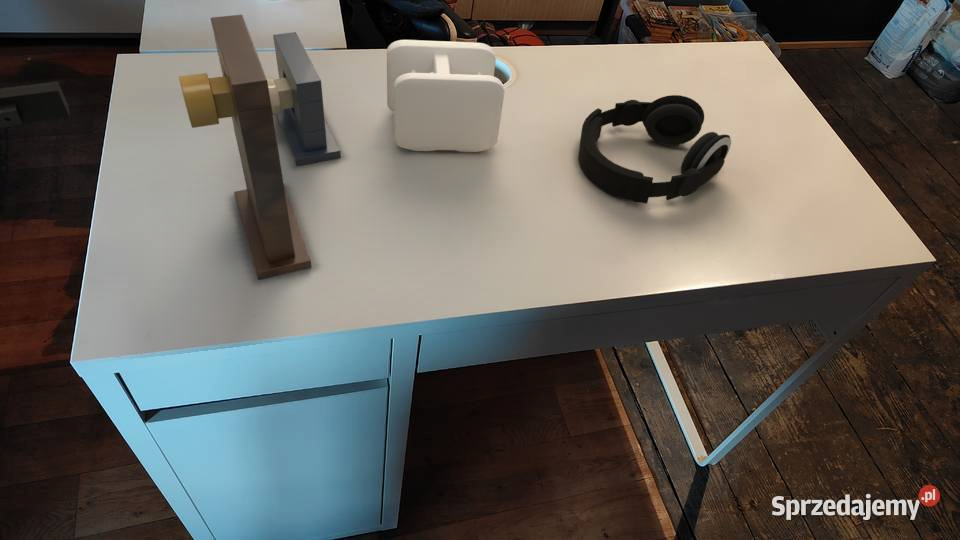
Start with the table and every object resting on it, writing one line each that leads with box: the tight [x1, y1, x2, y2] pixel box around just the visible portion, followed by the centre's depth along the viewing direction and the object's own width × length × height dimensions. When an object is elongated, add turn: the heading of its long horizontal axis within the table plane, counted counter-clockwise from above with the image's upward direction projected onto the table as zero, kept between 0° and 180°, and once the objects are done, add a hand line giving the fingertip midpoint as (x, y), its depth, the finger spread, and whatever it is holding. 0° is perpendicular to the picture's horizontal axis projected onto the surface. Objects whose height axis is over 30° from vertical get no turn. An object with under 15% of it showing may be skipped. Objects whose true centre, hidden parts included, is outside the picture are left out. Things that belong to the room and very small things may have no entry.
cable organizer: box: [386, 39, 505, 153], centre depth 91 cm, size 15×11×12 cm
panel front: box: [210, 14, 313, 281], centre depth 70 cm, size 6×14×24 cm, turn 23°
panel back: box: [272, 31, 342, 167], centre depth 88 cm, size 6×14×12 cm, turn 25°
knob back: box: [266, 75, 294, 116], centre depth 86 cm, size 6×5×5 cm
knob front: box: [178, 72, 236, 129], centre depth 64 cm, size 6×5×5 cm
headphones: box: [577, 94, 732, 205], centre depth 92 cm, size 18×8×20 cm
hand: (63, 99), depth 58 cm, fingers closed
